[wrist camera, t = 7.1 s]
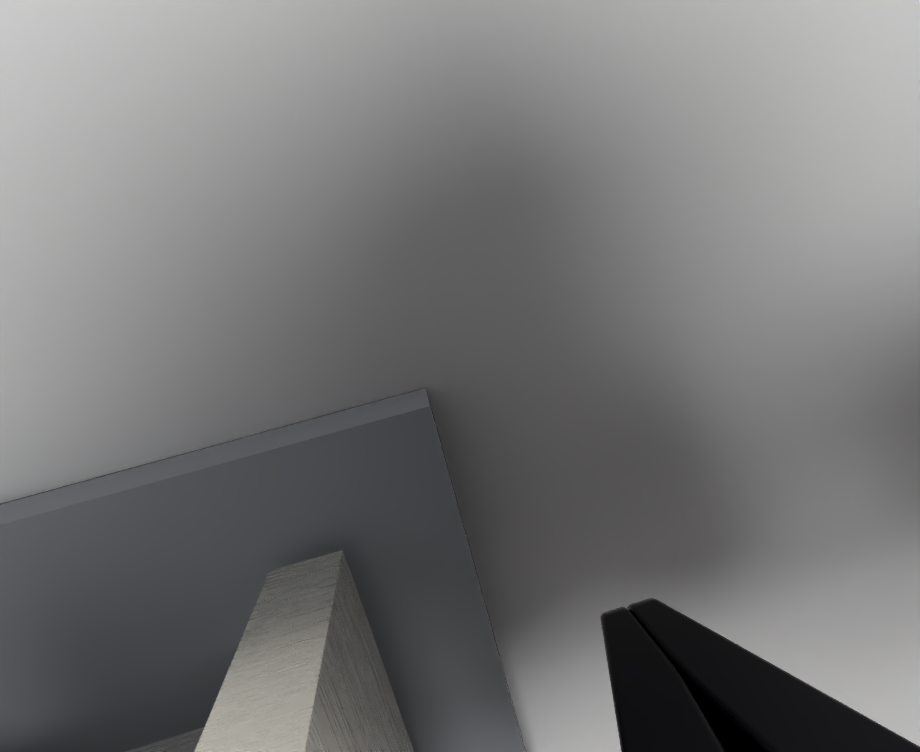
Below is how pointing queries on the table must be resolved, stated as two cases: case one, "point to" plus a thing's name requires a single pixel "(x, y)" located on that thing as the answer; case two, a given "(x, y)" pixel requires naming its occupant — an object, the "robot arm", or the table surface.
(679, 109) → the table surface
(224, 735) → the plunger
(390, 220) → the table surface
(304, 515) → the gauge bed
